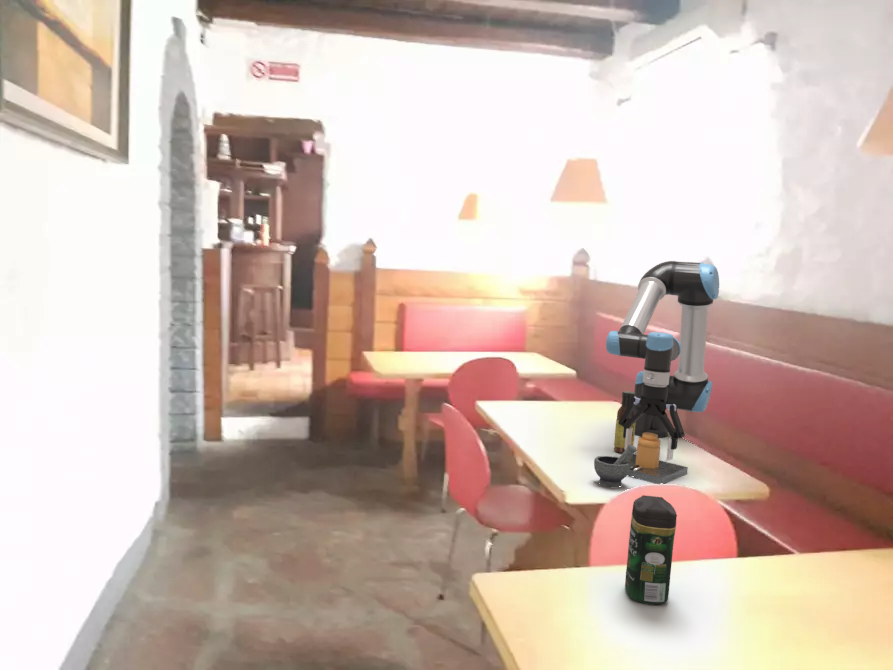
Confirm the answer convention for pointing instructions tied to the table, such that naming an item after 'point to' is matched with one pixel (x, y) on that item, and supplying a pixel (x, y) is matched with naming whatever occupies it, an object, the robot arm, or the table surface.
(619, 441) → the sauce bottle
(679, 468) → the junction plate
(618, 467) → the mortar and pestle
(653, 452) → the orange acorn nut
